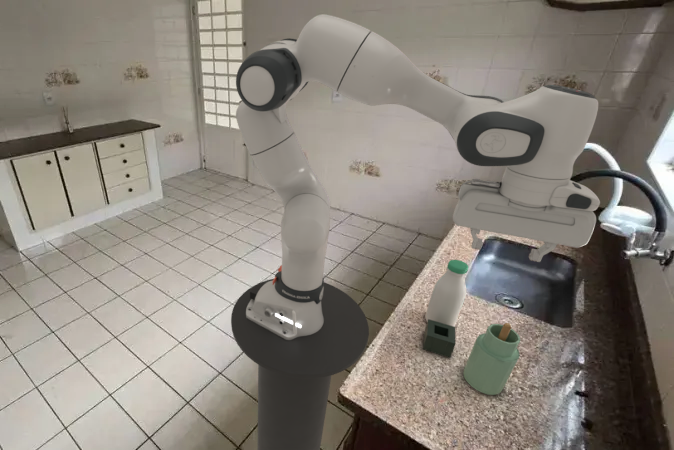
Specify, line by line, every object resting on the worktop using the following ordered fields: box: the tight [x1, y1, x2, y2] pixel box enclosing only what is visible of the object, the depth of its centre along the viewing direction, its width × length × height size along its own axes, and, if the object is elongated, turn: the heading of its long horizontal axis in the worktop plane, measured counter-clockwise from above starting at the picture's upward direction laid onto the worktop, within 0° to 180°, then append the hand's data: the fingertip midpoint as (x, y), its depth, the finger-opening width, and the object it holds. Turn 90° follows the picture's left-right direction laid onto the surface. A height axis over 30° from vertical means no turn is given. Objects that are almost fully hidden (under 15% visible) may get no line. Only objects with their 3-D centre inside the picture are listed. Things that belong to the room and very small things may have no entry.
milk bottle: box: [424, 259, 469, 328], centre depth 95 cm, size 8×8×20 cm
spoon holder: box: [422, 319, 456, 358], centre depth 91 cm, size 6×6×5 cm
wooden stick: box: [498, 322, 512, 341], centre depth 78 cm, size 1×2×17 cm, turn 153°
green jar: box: [463, 323, 521, 396], centre depth 79 cm, size 8×8×15 cm
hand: (504, 253), depth 67 cm, fingers open, 8 cm apart
